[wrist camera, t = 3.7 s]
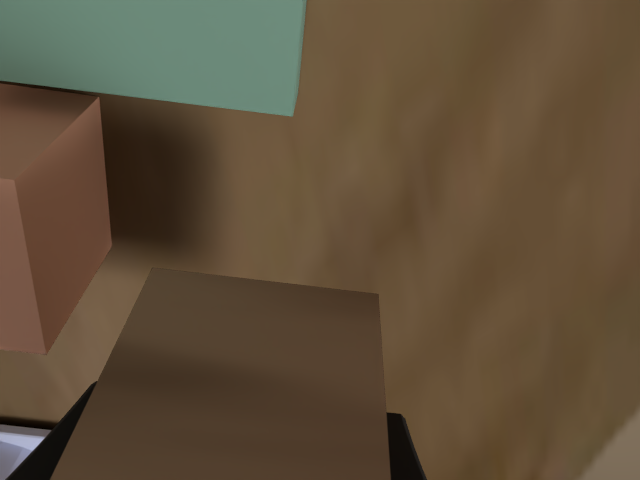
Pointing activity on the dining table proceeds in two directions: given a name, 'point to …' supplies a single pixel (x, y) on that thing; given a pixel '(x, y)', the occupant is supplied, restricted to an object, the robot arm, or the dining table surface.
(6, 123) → the terracotta brick
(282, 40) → the base plate
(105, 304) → the dining table surface
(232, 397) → the walnut brick
